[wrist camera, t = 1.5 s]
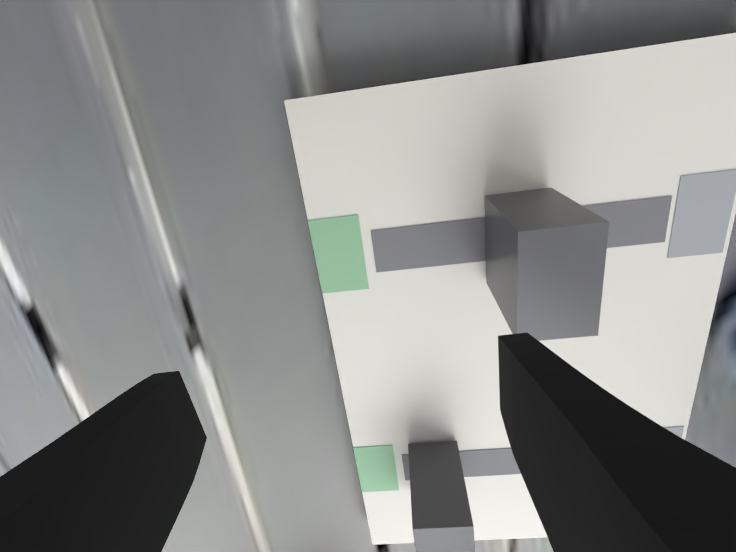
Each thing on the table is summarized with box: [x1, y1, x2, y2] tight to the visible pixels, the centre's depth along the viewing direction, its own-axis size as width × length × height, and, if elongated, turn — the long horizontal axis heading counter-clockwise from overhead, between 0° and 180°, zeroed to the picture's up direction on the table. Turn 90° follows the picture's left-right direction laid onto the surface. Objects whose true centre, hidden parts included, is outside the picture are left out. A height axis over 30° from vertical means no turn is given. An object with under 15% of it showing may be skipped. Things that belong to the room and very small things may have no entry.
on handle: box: [408, 441, 475, 552], centre depth 19 cm, size 2×4×4 cm, turn 8°
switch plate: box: [284, 33, 736, 545], centre depth 19 cm, size 16×24×2 cm, turn 8°
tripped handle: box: [484, 188, 609, 341], centre depth 14 cm, size 2×4×4 cm, turn 8°
